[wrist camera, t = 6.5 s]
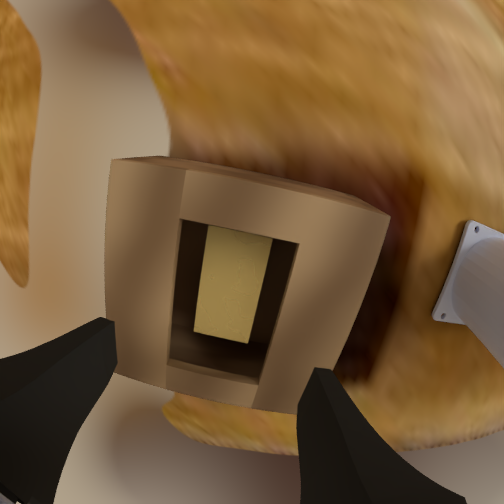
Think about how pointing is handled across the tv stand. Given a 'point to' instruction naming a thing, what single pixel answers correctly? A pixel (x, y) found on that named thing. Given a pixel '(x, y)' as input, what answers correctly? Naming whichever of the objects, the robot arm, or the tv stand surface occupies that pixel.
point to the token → (230, 282)
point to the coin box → (273, 287)
